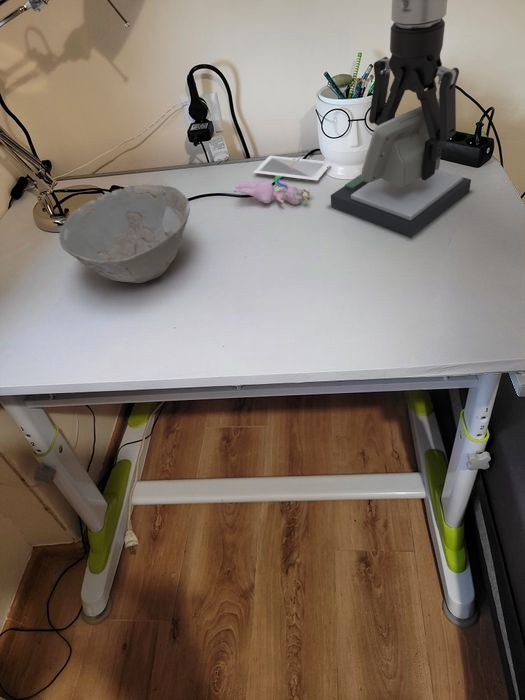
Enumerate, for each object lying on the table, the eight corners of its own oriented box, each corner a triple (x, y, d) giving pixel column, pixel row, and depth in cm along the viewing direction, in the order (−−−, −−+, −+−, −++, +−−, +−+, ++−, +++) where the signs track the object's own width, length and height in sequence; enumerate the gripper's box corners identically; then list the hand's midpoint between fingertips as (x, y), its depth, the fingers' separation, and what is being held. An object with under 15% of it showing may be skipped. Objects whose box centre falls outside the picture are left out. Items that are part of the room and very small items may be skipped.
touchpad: (317, 185, 103) (317, 175, 102) (253, 177, 109) (252, 167, 108) (332, 167, 108) (332, 157, 106) (270, 160, 114) (269, 150, 112)
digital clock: (429, 149, 93) (436, 88, 86) (460, 168, 87) (469, 104, 80) (350, 174, 91) (350, 114, 83) (376, 196, 85) (378, 133, 77)
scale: (469, 191, 94) (472, 175, 91) (410, 238, 86) (412, 221, 84) (389, 167, 104) (389, 152, 102) (331, 206, 97) (330, 191, 94)
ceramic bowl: (91, 326, 82) (66, 277, 75) (75, 254, 98) (53, 208, 90) (220, 280, 86) (207, 230, 78) (184, 218, 101) (171, 171, 94)
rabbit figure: (310, 199, 102) (238, 189, 104) (313, 171, 98) (237, 161, 100) (305, 216, 98) (230, 205, 100) (307, 188, 94) (229, 177, 96)
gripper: (345, 22, 77) (347, 164, 93) (469, 36, 65) (447, 196, 82) (376, 7, 80) (373, 148, 96) (499, 18, 68) (472, 176, 85)
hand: (407, 170), depth 89 cm, fingers closed on digital clock, 8 cm apart
